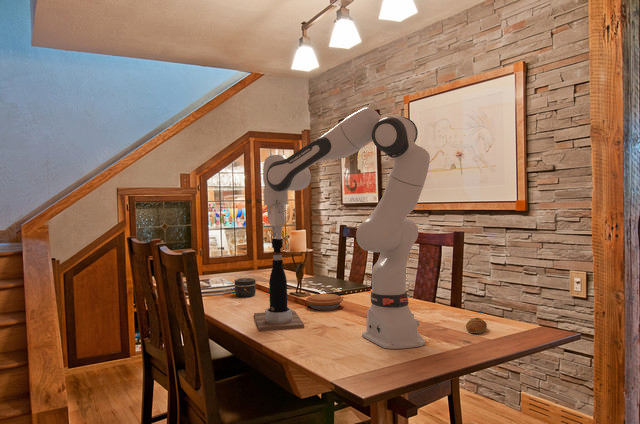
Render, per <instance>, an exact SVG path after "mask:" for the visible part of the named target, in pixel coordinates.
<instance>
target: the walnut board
mask: <svg viewBox="0 0 640 424" xmlns="http://www.w3.org/2000/svg"><path fill="white" fill-rule="evenodd" d="M253 316H254V321H255V323H256V327H257V330H258V332H266V331H279V330H281V331H282V330H292V329H293V330H294V329H303V328H305V323H304V322H303V321H302V319H301V318H300V316H299V315H298V314H297V312H296V311H295V309H294V310H293V309H292V321H291V322H288V323H284V324H271V323H267V322H266V321H265V311H262V312H254V313H253Z"/></svg>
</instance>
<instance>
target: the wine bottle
mask: <svg viewBox="0 0 640 424" xmlns="http://www.w3.org/2000/svg"><path fill="white" fill-rule="evenodd" d="M271 248H272V249H273V255H272V257H273V258H272V261H271V262H272V267H271V268H272V269H271V272H270V275H269V282H268V284H269V308H270V312H285V311H287V307H288V282H287V275H286V272H285V269H284V264H283V263H284V262H283V261H284V259H283V255H282V251H281V250H282V249H283V238H281V239H276V238H272V239H271Z"/></svg>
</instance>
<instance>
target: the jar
mask: <svg viewBox="0 0 640 424" xmlns="http://www.w3.org/2000/svg"><path fill="white" fill-rule="evenodd" d="M256 284H257V283H256V279H255V278H251V277H249V278H248V277H246V278H245V277H244V278H238V279H234V294H235V296H236V297H237V298H252V297H254V296H255V295H256V289H257V288H256V287H257V286H256Z"/></svg>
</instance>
